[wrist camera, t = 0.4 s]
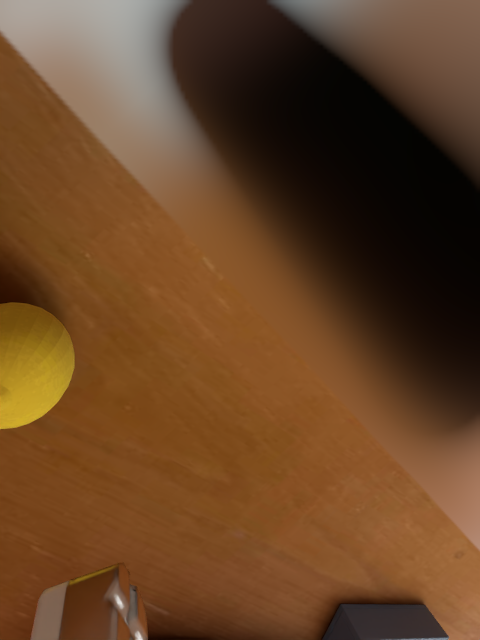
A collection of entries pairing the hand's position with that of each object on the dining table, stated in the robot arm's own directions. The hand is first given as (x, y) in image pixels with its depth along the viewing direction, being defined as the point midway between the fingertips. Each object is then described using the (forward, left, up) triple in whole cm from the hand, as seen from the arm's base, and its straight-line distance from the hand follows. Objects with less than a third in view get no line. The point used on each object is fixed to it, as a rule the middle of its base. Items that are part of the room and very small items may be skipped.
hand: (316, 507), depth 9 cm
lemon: (+5, -7, -19) cm, 21 cm away
